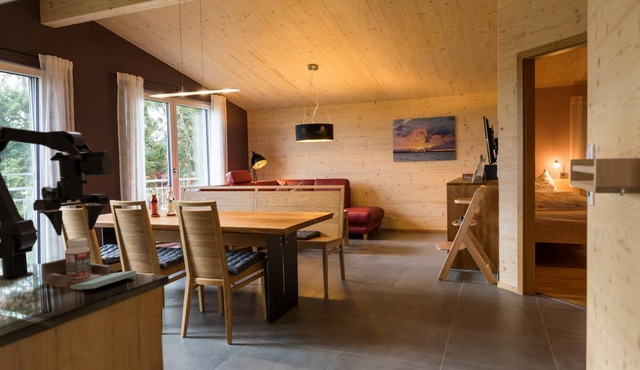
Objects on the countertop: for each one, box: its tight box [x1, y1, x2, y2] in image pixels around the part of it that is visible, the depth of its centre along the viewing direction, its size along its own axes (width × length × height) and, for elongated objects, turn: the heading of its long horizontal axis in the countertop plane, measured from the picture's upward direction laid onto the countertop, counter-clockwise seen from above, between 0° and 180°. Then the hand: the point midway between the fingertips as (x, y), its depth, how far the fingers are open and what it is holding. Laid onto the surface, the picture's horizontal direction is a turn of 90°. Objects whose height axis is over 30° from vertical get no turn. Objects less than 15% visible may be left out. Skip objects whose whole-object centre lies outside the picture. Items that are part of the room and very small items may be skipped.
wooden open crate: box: [41, 258, 112, 289], centre depth 113 cm, size 10×12×6 cm
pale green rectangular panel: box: [69, 270, 137, 291], centre depth 108 cm, size 1×12×9 cm
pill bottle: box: [64, 237, 92, 280], centre depth 112 cm, size 6×6×10 cm
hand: (75, 232), depth 120 cm, fingers open, 9 cm apart
